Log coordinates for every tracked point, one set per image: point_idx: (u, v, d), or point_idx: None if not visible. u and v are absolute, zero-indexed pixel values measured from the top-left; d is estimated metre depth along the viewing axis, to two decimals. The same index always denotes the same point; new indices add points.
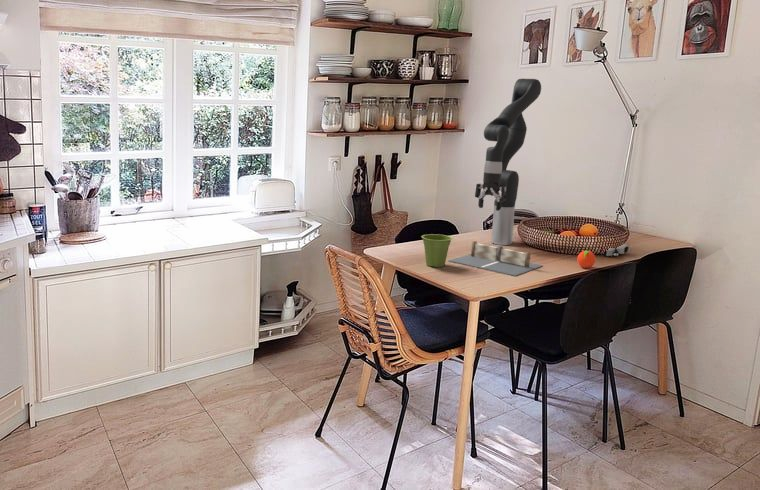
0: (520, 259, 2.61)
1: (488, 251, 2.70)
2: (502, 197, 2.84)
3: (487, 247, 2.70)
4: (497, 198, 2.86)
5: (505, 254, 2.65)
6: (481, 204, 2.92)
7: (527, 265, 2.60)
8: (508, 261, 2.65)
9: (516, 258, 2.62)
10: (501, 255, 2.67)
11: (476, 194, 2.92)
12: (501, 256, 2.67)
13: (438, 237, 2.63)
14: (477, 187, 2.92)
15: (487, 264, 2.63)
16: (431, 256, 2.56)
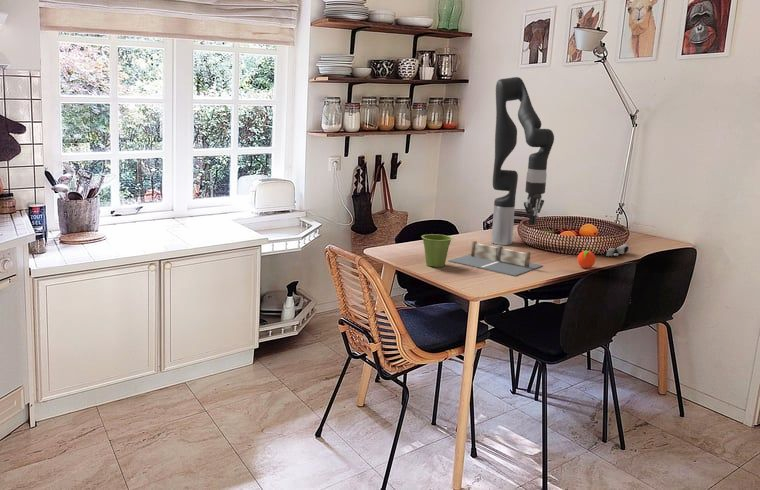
0: (520, 259, 2.61)
1: (488, 251, 2.70)
2: (540, 209, 2.63)
3: (487, 247, 2.70)
4: (536, 211, 2.61)
5: (505, 254, 2.65)
6: None
7: (527, 265, 2.60)
8: (508, 261, 2.65)
9: (516, 258, 2.62)
10: (501, 255, 2.67)
11: (532, 211, 2.59)
12: (501, 256, 2.67)
13: (438, 237, 2.63)
14: (530, 206, 2.57)
15: (487, 264, 2.63)
16: (431, 256, 2.56)
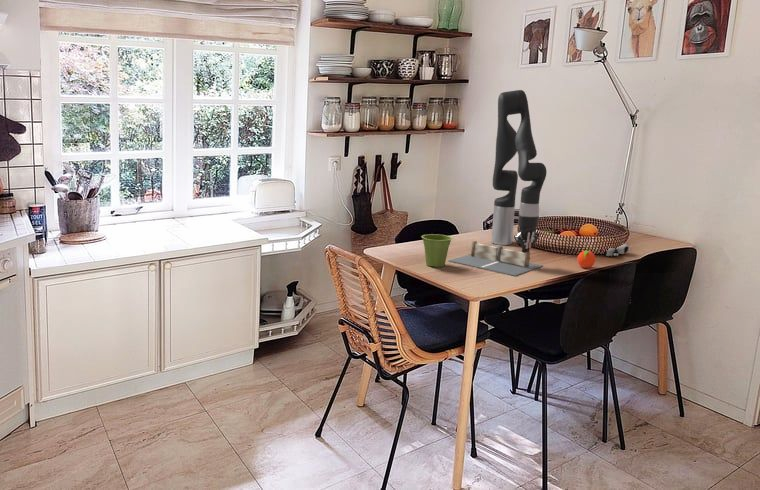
0: (520, 259, 2.61)
1: (488, 251, 2.70)
2: (534, 243, 2.63)
3: (487, 247, 2.70)
4: (529, 245, 2.61)
5: (505, 254, 2.65)
6: None
7: (527, 265, 2.59)
8: (508, 261, 2.65)
9: (516, 258, 2.62)
10: (501, 255, 2.67)
11: (523, 245, 2.59)
12: (501, 256, 2.67)
13: (438, 237, 2.63)
14: (520, 239, 2.58)
15: (487, 264, 2.63)
16: (431, 256, 2.56)
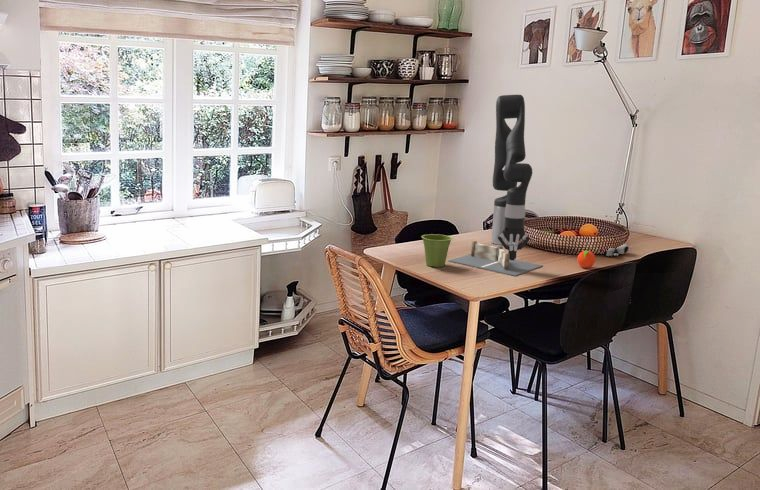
0: (503, 260, 2.58)
1: (488, 251, 2.70)
2: (521, 246, 2.56)
3: (487, 247, 2.70)
4: (514, 247, 2.56)
5: (499, 254, 2.65)
6: None
7: (505, 267, 2.56)
8: (500, 261, 2.64)
9: (502, 259, 2.60)
10: (498, 255, 2.67)
11: (505, 246, 2.56)
12: (498, 256, 2.67)
13: (438, 237, 2.63)
14: (501, 240, 2.55)
15: (487, 264, 2.63)
16: (431, 256, 2.56)
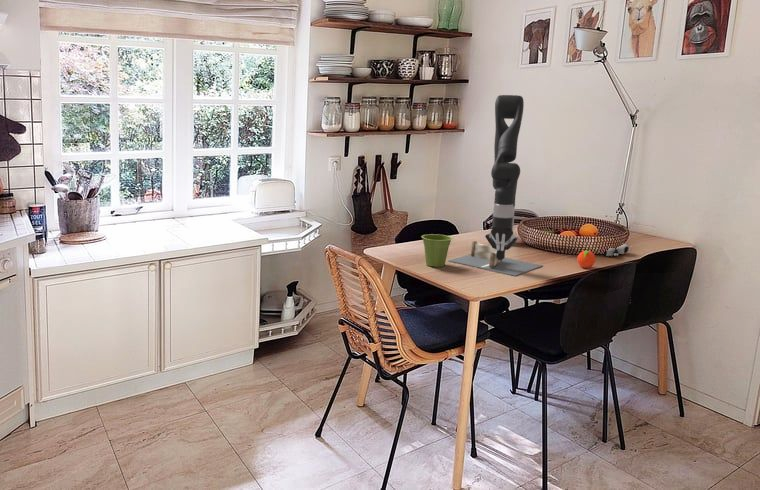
0: None
1: (488, 251, 2.70)
2: (508, 246, 2.54)
3: (487, 247, 2.70)
4: (500, 247, 2.56)
5: None
6: None
7: (489, 265, 2.57)
8: None
9: None
10: None
11: (492, 245, 2.57)
12: None
13: (438, 237, 2.63)
14: (488, 238, 2.57)
15: (487, 264, 2.63)
16: (431, 256, 2.56)
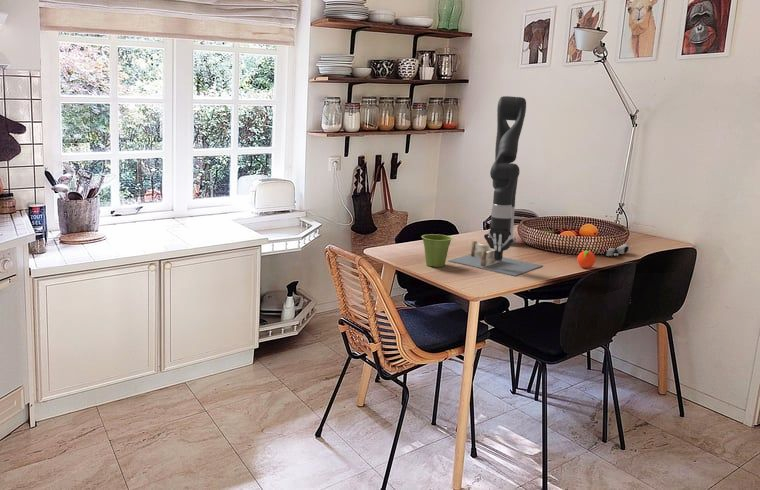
0: None
1: None
2: (505, 247, 2.53)
3: (487, 247, 2.70)
4: (498, 247, 2.55)
5: None
6: None
7: None
8: None
9: None
10: None
11: (490, 245, 2.56)
12: None
13: (438, 237, 2.63)
14: (486, 238, 2.57)
15: None
16: (431, 256, 2.56)
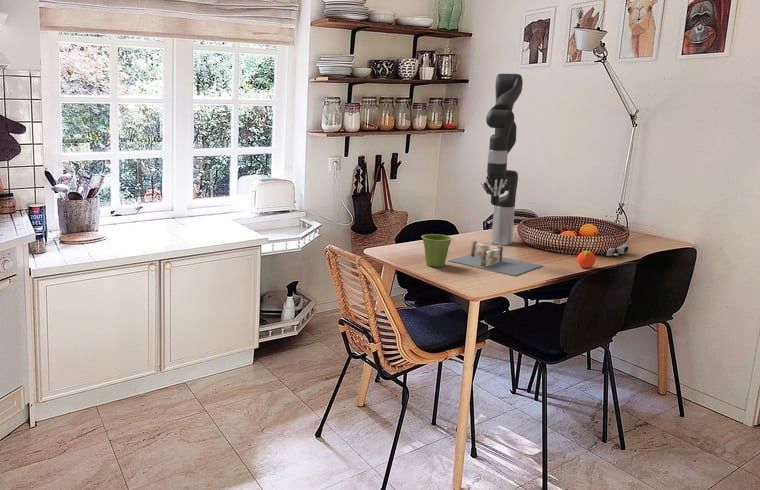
0: None
1: None
2: (504, 190, 2.65)
3: (487, 247, 2.70)
4: (497, 192, 2.64)
5: None
6: None
7: None
8: None
9: None
10: None
11: (490, 192, 2.63)
12: None
13: (438, 237, 2.63)
14: (486, 186, 2.62)
15: None
16: (431, 256, 2.56)
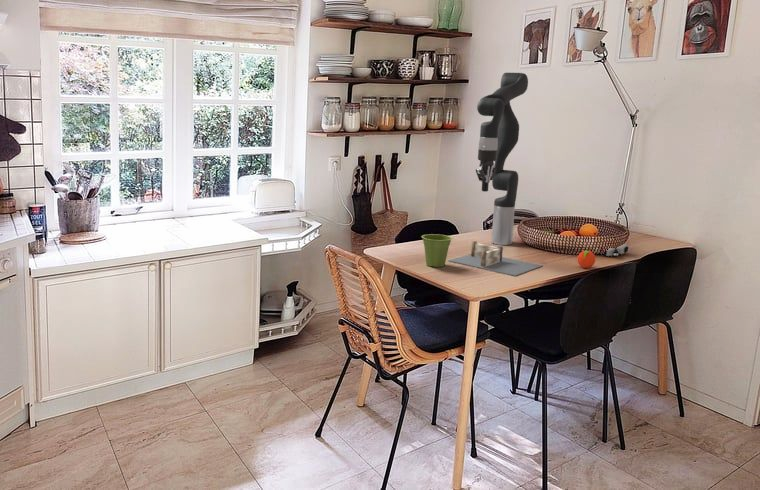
0: None
1: None
2: (492, 177, 2.74)
3: (487, 247, 2.70)
4: (488, 178, 2.72)
5: None
6: None
7: None
8: None
9: None
10: None
11: (484, 178, 2.69)
12: None
13: (438, 237, 2.63)
14: (482, 172, 2.67)
15: None
16: (431, 256, 2.56)
